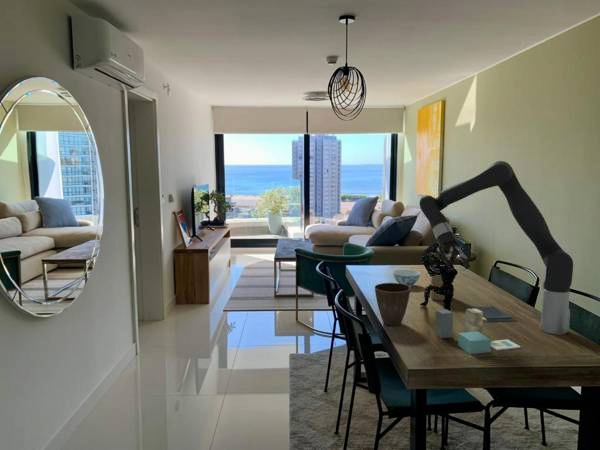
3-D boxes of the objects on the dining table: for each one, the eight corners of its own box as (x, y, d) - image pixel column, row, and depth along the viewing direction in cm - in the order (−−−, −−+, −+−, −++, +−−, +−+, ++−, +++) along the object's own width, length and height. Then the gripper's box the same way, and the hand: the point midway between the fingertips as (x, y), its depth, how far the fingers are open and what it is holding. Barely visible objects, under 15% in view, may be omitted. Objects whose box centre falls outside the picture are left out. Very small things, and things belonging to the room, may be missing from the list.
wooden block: (450, 296, 226) (452, 258, 224) (451, 301, 217) (453, 262, 214) (430, 295, 229) (431, 257, 227) (431, 300, 220) (432, 261, 217)
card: (507, 340, 167) (507, 339, 167) (520, 347, 160) (520, 346, 160) (484, 343, 165) (484, 341, 165) (496, 350, 158) (496, 348, 158)
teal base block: (477, 344, 165) (477, 331, 164) (490, 352, 157) (490, 339, 156) (457, 345, 163) (458, 333, 163) (470, 354, 156) (470, 341, 155)
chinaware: (421, 289, 239) (421, 276, 238) (393, 288, 242) (393, 275, 241) (418, 282, 254) (418, 269, 253) (392, 282, 256) (392, 269, 255)
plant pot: (384, 331, 178) (384, 293, 176) (368, 319, 192) (368, 284, 190) (416, 327, 182) (417, 290, 180) (398, 316, 196) (399, 281, 194)
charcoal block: (445, 333, 176) (446, 309, 174) (451, 337, 171) (452, 312, 170) (435, 334, 175) (436, 310, 173) (441, 338, 170) (442, 313, 169)
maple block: (474, 332, 176) (475, 308, 175) (481, 336, 172) (482, 311, 171) (465, 333, 175) (466, 309, 174) (471, 337, 171) (472, 312, 170)
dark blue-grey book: (518, 318, 188) (483, 319, 187) (518, 323, 188) (483, 323, 187) (495, 304, 208) (464, 305, 207) (495, 308, 208) (464, 309, 207)
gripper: (436, 231, 181) (452, 265, 173) (462, 230, 187) (479, 263, 179) (426, 240, 187) (441, 274, 179) (452, 239, 192) (467, 272, 184)
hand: (460, 268), depth 179 cm, fingers open, 8 cm apart
